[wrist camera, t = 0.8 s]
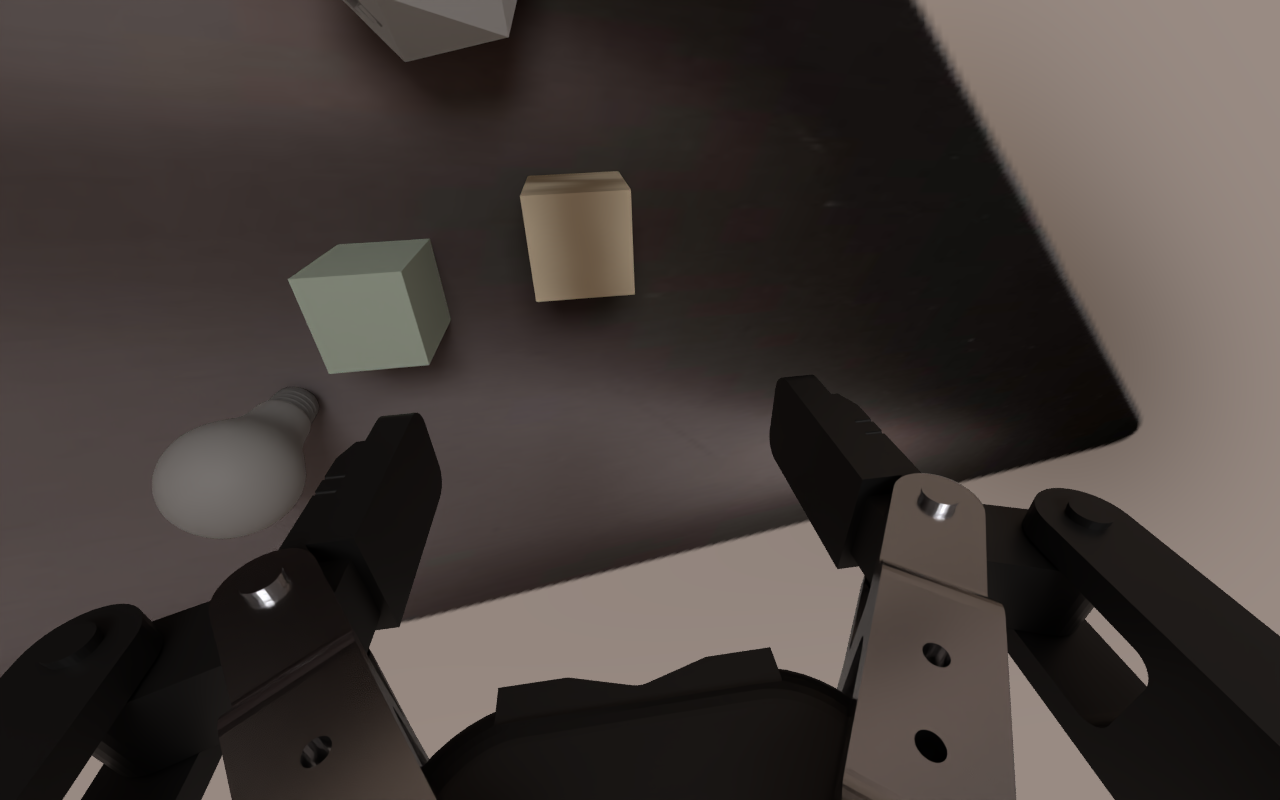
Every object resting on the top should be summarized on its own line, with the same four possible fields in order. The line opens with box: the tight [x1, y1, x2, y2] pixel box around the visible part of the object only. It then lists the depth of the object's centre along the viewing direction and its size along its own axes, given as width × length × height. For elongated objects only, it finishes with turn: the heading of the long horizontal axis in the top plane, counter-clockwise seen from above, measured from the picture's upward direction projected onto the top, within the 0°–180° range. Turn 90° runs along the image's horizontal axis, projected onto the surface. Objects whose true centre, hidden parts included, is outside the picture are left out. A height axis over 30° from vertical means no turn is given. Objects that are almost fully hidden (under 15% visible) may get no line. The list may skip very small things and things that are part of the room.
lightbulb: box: [152, 387, 319, 539], centre depth 27 cm, size 6×6×11 cm
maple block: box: [520, 171, 635, 302], centre depth 26 cm, size 5×5×6 cm
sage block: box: [288, 239, 451, 374], centre depth 26 cm, size 5×5×6 cm
